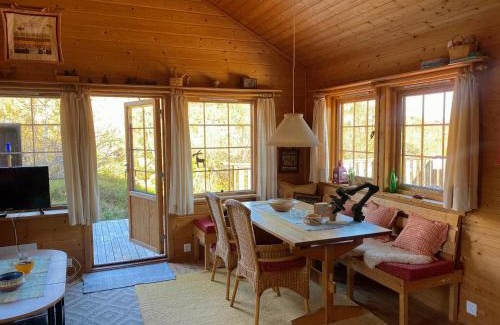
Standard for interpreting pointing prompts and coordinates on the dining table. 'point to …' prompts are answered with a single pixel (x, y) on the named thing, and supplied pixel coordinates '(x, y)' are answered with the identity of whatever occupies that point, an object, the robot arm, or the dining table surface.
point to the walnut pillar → (332, 216)
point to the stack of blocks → (322, 209)
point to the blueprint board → (337, 222)
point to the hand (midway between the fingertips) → (331, 213)
